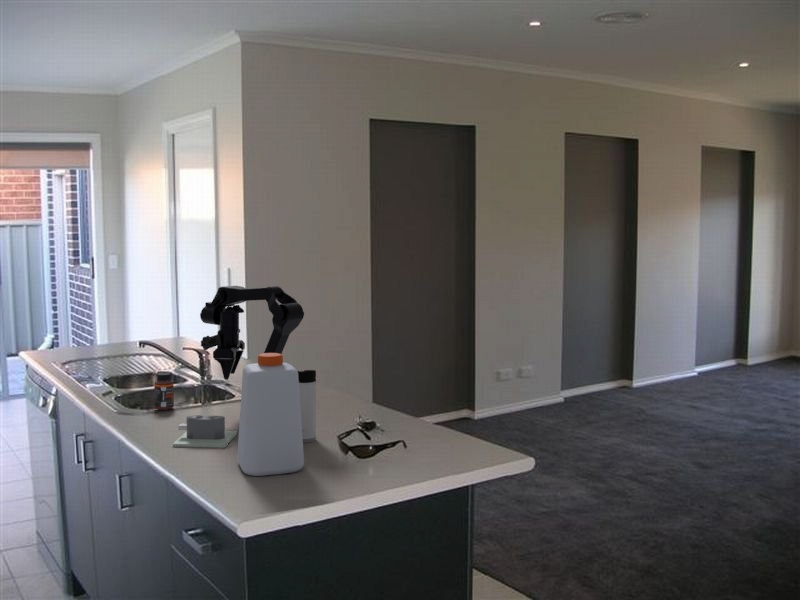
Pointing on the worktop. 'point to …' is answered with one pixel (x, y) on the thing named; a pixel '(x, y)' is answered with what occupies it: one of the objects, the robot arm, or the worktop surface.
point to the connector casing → (204, 427)
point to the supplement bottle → (164, 392)
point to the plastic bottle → (270, 418)
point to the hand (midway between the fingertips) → (229, 376)
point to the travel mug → (308, 404)
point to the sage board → (205, 441)
